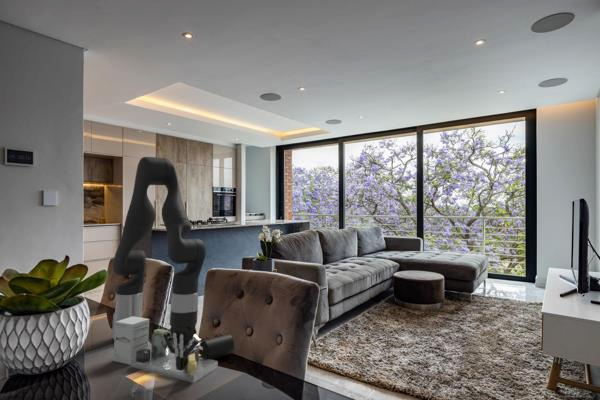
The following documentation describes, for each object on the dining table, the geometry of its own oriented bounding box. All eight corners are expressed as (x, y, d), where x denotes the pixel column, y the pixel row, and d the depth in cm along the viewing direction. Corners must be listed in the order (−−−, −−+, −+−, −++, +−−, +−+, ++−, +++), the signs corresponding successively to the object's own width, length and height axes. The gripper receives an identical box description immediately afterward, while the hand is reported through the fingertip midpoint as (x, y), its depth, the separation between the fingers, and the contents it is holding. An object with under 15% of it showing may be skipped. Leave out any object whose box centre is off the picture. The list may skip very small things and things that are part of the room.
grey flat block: (131, 366, 104) (132, 336, 104) (161, 353, 115) (162, 325, 115) (193, 383, 94) (194, 349, 95) (219, 366, 105) (220, 336, 106)
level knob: (183, 358, 105) (184, 345, 105) (198, 357, 106) (198, 344, 107) (183, 376, 93) (184, 361, 94) (200, 374, 95) (200, 359, 95)
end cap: (207, 365, 106) (208, 343, 107) (196, 358, 111) (197, 337, 111) (234, 356, 113) (234, 336, 114) (222, 350, 118) (223, 331, 119)
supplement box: (112, 361, 107) (114, 321, 108) (131, 353, 114) (133, 315, 115) (130, 365, 105) (132, 324, 105) (148, 356, 111) (150, 318, 112)
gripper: (157, 307, 96) (153, 369, 96) (193, 314, 91) (190, 379, 90) (176, 302, 103) (172, 359, 102) (211, 308, 98) (208, 368, 97)
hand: (181, 369), depth 96 cm, fingers closed
